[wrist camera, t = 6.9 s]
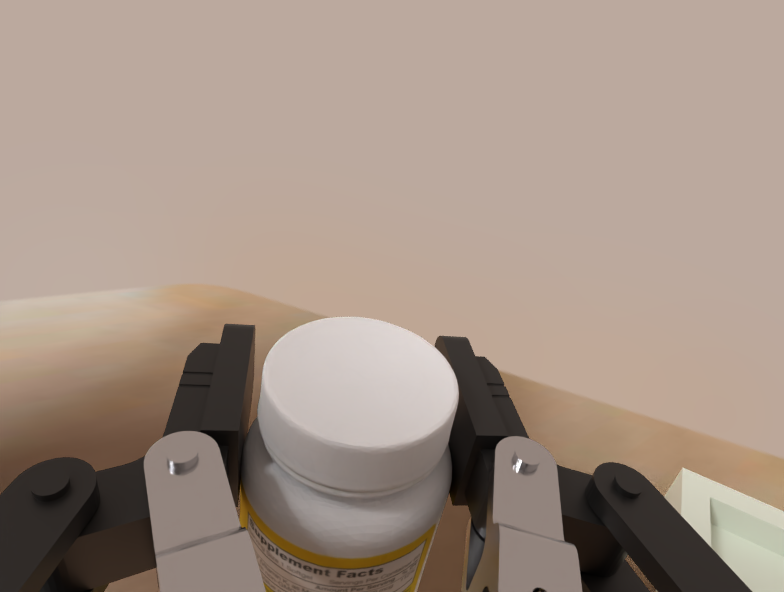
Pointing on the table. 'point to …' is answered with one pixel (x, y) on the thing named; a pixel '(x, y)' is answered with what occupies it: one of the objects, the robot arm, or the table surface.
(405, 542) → the supplement bottle
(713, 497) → the tray
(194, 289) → the table surface
